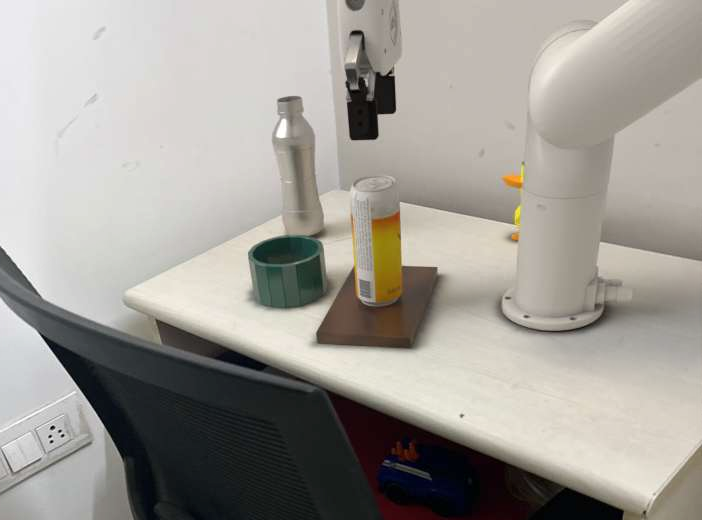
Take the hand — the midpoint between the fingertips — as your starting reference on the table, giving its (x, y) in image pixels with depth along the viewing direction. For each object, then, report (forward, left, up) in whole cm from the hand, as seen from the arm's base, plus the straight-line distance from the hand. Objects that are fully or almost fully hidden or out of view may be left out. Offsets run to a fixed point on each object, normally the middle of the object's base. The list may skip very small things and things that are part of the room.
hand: (373, 126), depth 89 cm
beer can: (0, +1, -21) cm, 21 cm away
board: (0, +1, -23) cm, 23 cm away
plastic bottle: (+18, -23, -23) cm, 37 cm away
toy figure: (-16, -23, -23) cm, 36 cm away
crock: (+14, -3, -23) cm, 27 cm away
